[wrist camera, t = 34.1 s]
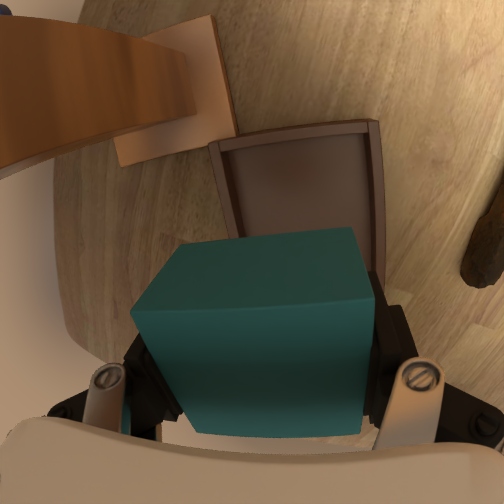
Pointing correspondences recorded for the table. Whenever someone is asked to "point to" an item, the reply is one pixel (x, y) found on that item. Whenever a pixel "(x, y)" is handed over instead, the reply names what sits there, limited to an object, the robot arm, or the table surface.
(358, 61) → the table surface
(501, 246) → the hand tool
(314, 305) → the teal square block
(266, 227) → the dark brown rectangular tray
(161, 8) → the table surface
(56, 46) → the stand
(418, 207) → the table surface
